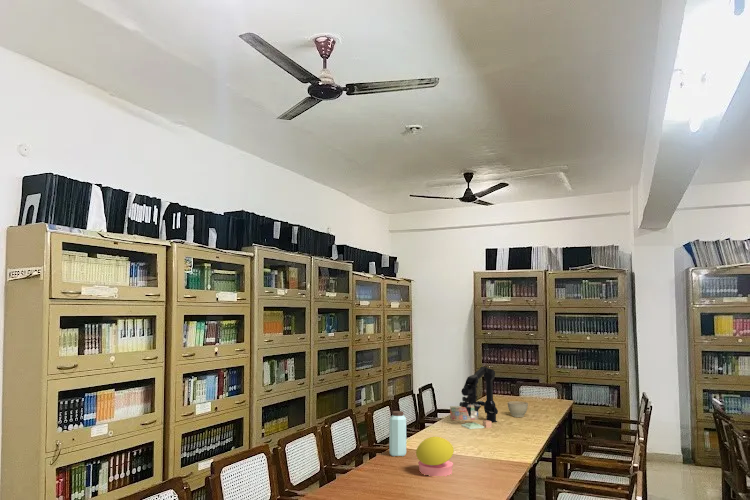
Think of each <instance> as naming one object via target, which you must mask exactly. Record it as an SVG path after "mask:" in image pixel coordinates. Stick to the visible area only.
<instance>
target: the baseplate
mask: <svg viewBox="0 0 750 500" xmlns="http://www.w3.org/2000/svg"><path fill="white" fill-rule="evenodd" d="M461 427H463V428H465V429H468V430H473V429H474V430H477V429H484V428H485V427H484V426H483V424H479V423H477V422H465V423H461Z"/></svg>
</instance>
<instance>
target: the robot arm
mask: <svg viewBox="0 0 750 500" xmlns="http://www.w3.org/2000/svg"><path fill="white" fill-rule="evenodd" d="M480 378H483V379H484V380H485V384H486V385H485V387H486V389H485V390H486V391H485V392H486V394H485V395H486V399H485V401H483V400H477V398H478V395H477V388H478V385H477V384H478V383H479V380H480ZM495 378H496V371H495V370H494V369H491V368H489V367H487V366H480V368H479V369H478V370H477V371H476V372H475V373H474V374H472V375H469V376H467V377H466V380H465V383H464V386H463V388H462V389H461V395H462V401H460V402H459V406H461V407H465V408H466V409H467V412H468V414H469V416H470V414H471V407H470V405H474V407H475V411H477V412H478V413H479V410H480V408H482V407H483V410H484V414H486V417H485V418H486V420H489V421H492V423H498V421H497V414H499V413H498V412H499V410H498V408H497V407H496V403H495V401H494V389H493V388H494V385H493V384H494V380H495Z"/></svg>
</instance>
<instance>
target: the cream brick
mask: <svg viewBox="0 0 750 500" xmlns="http://www.w3.org/2000/svg"><path fill="white" fill-rule="evenodd" d="M468 417H470V418H477V411H474V410H471V414H470V416H469V414H468Z"/></svg>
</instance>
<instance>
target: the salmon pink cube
mask: <svg viewBox="0 0 750 500" xmlns="http://www.w3.org/2000/svg"><path fill="white" fill-rule="evenodd" d="M492 423H493V422H492V421H489V420H483V421H482V426H484V428H485V429H490V428H493V427H492Z"/></svg>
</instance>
